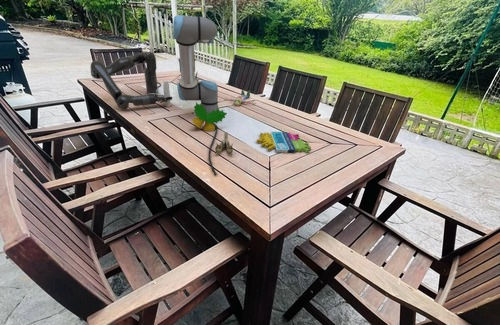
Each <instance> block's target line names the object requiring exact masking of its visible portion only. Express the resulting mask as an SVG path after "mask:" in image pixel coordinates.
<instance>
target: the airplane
mask: <svg viewBox="0 0 500 325" xmlns="http://www.w3.org/2000/svg"><path fill="white" fill-rule="evenodd" d="M180 79H181V78H177V80H178V81H179V80H180ZM195 79H196V80H197V83H200V81H201V80H204V78H198V71H196V72H195Z"/></svg>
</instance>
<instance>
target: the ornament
mask: <svg viewBox="0 0 500 325" xmlns="http://www.w3.org/2000/svg"><path fill="white" fill-rule="evenodd" d="M219 110H220V108H219V109H217V110H216V111H214V110H212V112H211V113H208V112H206V109H204V106H201V103H198V102H195V105H194V106H193V112H194V113H195V118H192V119H191V122H192V123H193V125H195V127H197V128H198V129H202V130H203V131H206V132H212V131H213V132H214V131H216V126H215V125H214V124H218V123H219V122H223V119H226V115H227V114H228V113H227V112H224V110H223V109H221V110H220V111H219ZM207 113H208V115H207ZM213 123H214V124H213Z"/></svg>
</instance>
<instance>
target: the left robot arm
mask: <svg viewBox="0 0 500 325" xmlns="http://www.w3.org/2000/svg"><path fill="white" fill-rule="evenodd" d="M142 64H145V65H146V66H145V68H144V69H143V74H144V81H145V82H144V83H145V90H146V94H139V95H131V94H123V92H122V90H121V89H120V87H119V86H118V85H117V83H116V82H115V81H114V79H113V78H112V75H115V74H119V73H121V72H126V71H129V70H132V69H133V68H135V67H136V66H138V65H142ZM90 76H91V77H92V78H93V79H96V80H102V82H103V84H104V86H105V88H106V90H107V92H108V93H109V94H110V96H111V97H112V98H113V100H114V102H115V104H116V105H117V107H118V108H119V109H121V110H127V109H129V107H130V104H132V105H133V106H134V107H140V106H154V105H156V104H157V102H158V103H160V104H162V103H165V102H167V100H170V101H172V100H173V96H170V97H164V94H159V88H160V87H161V86H162V84H161V83H160V82H158V80H157V58H156V54H155V53H154V52H151V51H142V52H140V53H139V52H138V53H137V54H133V55H128V56H123V57H118V58H116V59H115V60H114V61H112V62H111V63H110V64H109V65H107V66H106V65H105V63H103V62H102V61H100V60H93V61H92V62H91V63H90ZM158 84H159V85H158ZM165 99H166V100H165Z"/></svg>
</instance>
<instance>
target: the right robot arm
mask: <svg viewBox="0 0 500 325" xmlns="http://www.w3.org/2000/svg"><path fill="white" fill-rule="evenodd" d="M217 34H218V28H217V26H216V24H215V22H214V21H212V20H211V19H209V18H207V17H205V16H195V15H194V16H193V15H183V14H182V15H175V16H174V17H173V24H172V39H173V40H175V43H176V44H177V45H178V50H179V58H178V59H177V60H178V62H179V63H178V64H179V73H180V78H179V79H180V80H178V82H176V88H177V94H178V97H179V99H180V100H181V101H185V102H187V101H200V104H201V106H204V109H206V112H208V113H211V112H212V110H214V111H216V110H217V109H219V111H221V110H220V108H219V102H218V96H219V94H218V93H219V88H218V84H217V83H216V82H215V81H213V80H207V79H203V80H199V81H200V82H198V83H197V80H196V79H195V75H196V58H195V46H196V44H213V42H214V39H215V38H216V37H217ZM208 113H207V115H208ZM213 124H214V126H215V132H214V135H213V138H212V141H211V143H210V146H209V149H208V162H209V166H210V168H211V170H212V172H213V175H215V176H217V172H216V170H215V168H214V166H213V163H212V159H211V151H212V147H213V145H214V142H215V140H216V137H217V134H218V124H217V123H213Z"/></svg>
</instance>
